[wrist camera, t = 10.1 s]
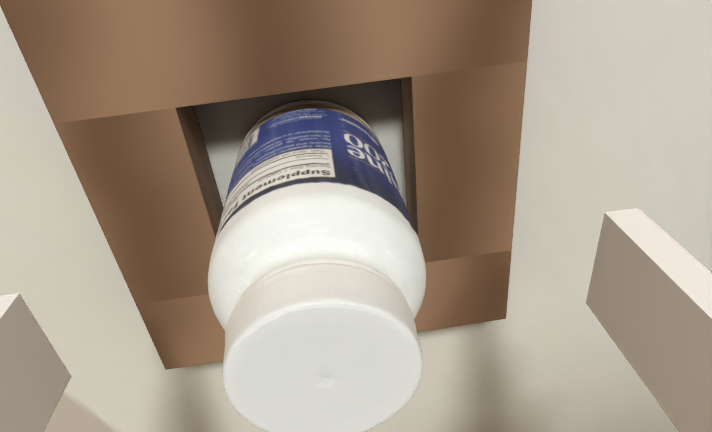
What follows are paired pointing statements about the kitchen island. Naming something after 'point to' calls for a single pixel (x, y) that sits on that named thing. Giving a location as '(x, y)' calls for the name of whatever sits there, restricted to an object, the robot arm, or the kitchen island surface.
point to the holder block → (269, 77)
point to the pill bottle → (316, 276)
